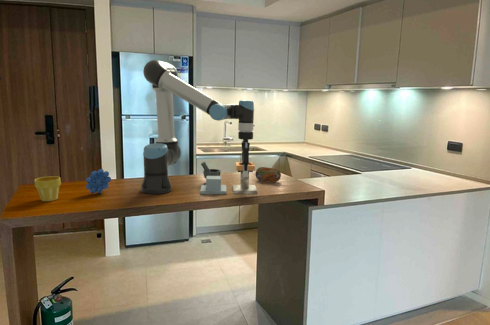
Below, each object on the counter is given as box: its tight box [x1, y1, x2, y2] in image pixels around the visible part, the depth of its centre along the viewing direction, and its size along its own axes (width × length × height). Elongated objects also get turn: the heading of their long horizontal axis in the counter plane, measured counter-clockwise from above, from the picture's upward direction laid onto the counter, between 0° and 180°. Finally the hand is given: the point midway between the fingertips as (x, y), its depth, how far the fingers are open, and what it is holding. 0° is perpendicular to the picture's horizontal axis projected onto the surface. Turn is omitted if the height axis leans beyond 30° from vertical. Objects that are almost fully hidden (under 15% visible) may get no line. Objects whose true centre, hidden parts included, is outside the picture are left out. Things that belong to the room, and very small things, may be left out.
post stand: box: [232, 159, 258, 195], centre depth 184 cm, size 12×12×18 cm
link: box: [235, 161, 256, 172], centre depth 183 cm, size 9×9×2 cm
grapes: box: [85, 168, 112, 194], centre depth 174 cm, size 12×7×12 cm, turn 120°
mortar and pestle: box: [200, 161, 221, 180], centre depth 200 cm, size 11×9×12 cm
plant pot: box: [34, 175, 62, 202], centre depth 161 cm, size 10×10×10 cm
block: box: [199, 175, 227, 195], centre depth 183 cm, size 13×13×7 cm
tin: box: [255, 166, 282, 183], centre depth 206 cm, size 15×3×8 cm, turn 65°
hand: (244, 174), depth 184 cm, fingers closed on link, 9 cm apart
